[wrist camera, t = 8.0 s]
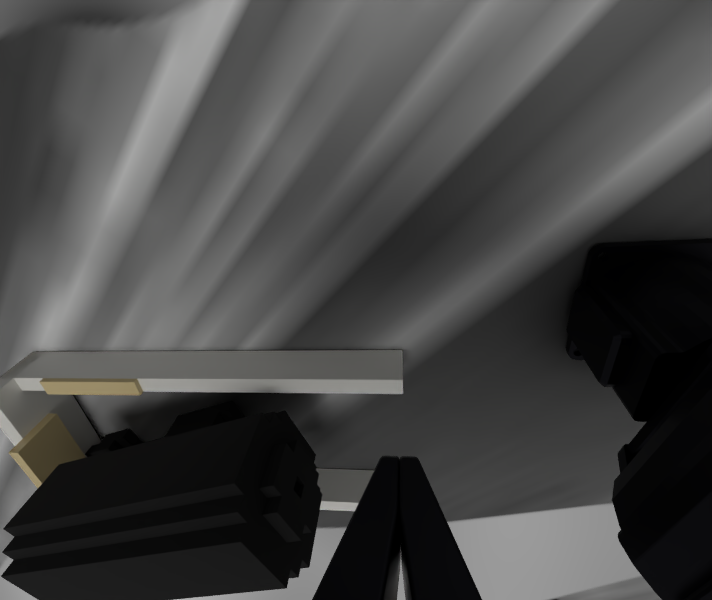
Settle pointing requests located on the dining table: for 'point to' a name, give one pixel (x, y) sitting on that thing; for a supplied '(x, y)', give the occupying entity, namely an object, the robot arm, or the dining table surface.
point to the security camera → (173, 513)
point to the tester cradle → (176, 374)
